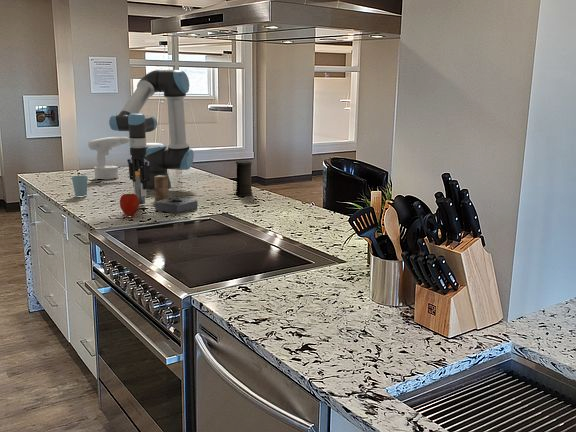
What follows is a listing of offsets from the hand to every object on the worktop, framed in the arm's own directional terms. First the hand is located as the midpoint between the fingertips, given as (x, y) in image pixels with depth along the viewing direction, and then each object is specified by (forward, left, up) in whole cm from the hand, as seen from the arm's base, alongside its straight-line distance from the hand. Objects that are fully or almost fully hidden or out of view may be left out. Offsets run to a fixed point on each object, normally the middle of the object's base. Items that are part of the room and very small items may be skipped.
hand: (140, 195), depth 275 cm
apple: (+12, -17, -6) cm, 22 cm away
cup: (-41, -3, -6) cm, 41 cm away
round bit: (0, 0, -4) cm, 4 cm away
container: (+22, +53, -6) cm, 57 cm away
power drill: (-72, +42, -6) cm, 83 cm away
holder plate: (+18, +6, -6) cm, 20 cm away
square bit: (-4, +18, -6) cm, 19 cm away
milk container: (-71, +75, -6) cm, 103 cm away
